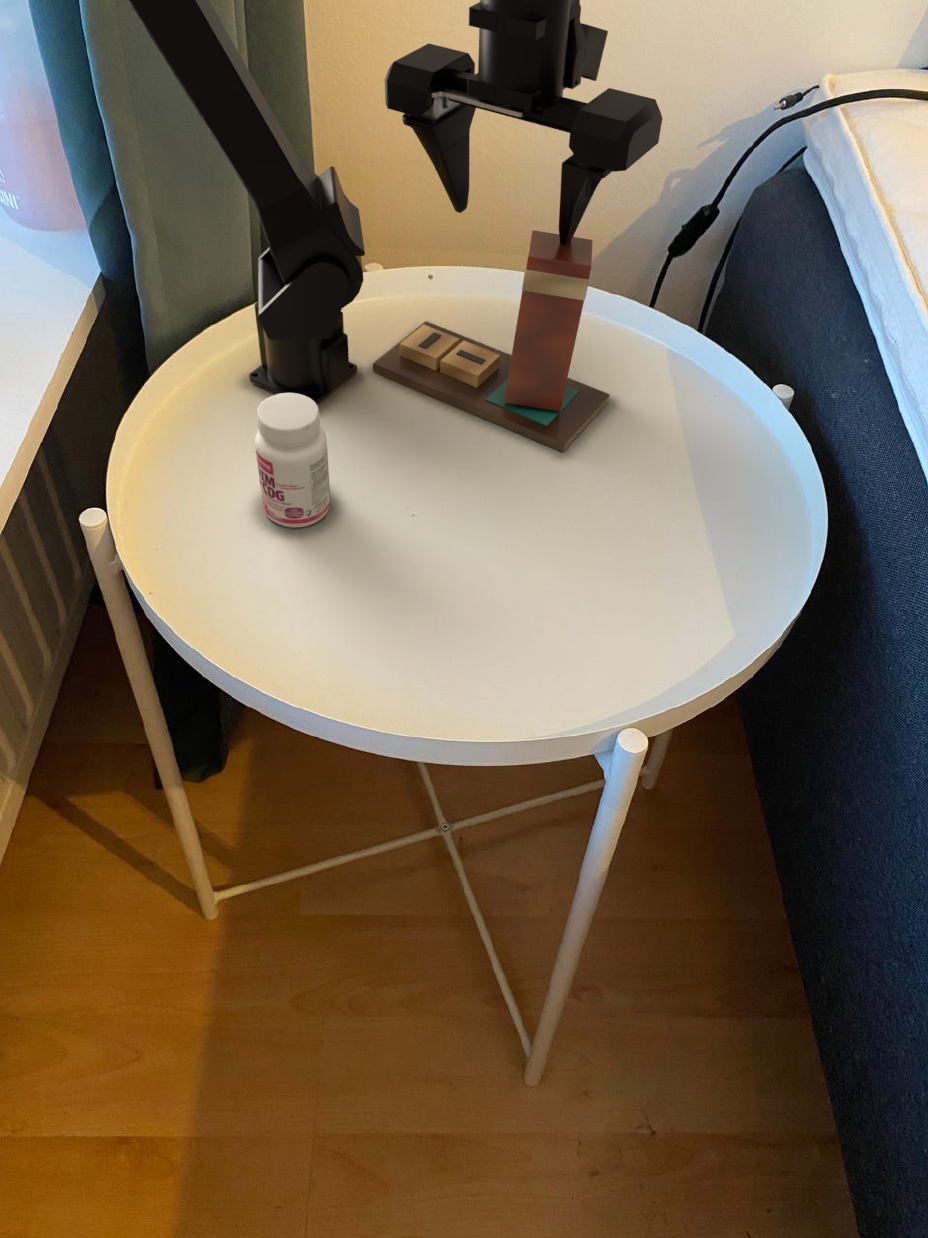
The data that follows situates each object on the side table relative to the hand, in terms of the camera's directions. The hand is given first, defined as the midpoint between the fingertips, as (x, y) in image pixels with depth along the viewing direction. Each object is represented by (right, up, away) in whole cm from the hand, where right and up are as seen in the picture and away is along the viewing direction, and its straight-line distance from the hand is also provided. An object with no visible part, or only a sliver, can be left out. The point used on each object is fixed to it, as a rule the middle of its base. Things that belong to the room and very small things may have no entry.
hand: (512, 226), depth 72 cm
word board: (-1, -10, +8) cm, 13 cm away
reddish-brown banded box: (+2, -11, +6) cm, 13 cm away
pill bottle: (-16, -21, -3) cm, 26 cm away
